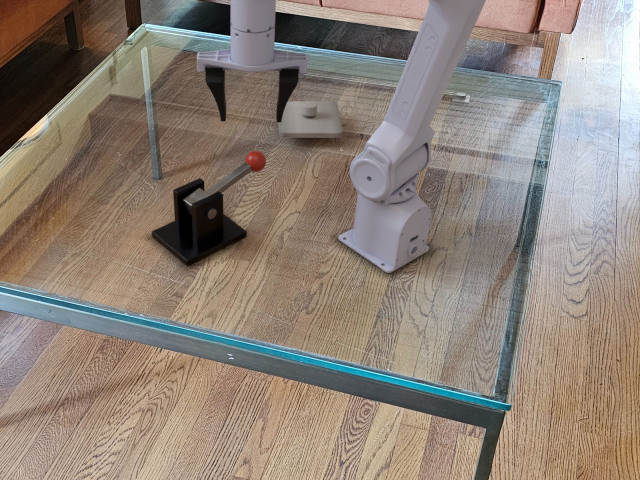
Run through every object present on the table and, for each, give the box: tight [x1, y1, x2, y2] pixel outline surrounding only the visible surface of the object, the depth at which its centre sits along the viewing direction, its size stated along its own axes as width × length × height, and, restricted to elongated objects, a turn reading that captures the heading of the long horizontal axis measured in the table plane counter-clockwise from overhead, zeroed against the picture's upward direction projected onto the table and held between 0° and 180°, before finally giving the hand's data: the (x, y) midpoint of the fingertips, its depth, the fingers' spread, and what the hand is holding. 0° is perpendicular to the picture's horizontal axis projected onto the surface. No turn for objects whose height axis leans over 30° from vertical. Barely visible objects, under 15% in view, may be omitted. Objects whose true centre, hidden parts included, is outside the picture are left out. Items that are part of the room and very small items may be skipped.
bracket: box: [151, 177, 248, 267], centre depth 110 cm, size 10×8×7 cm
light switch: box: [277, 100, 344, 139], centre depth 132 cm, size 10×10×5 cm
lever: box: [183, 150, 267, 215], centre depth 111 cm, size 13×3×3 cm, turn 129°
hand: (251, 118), depth 116 cm, fingers open, 7 cm apart
